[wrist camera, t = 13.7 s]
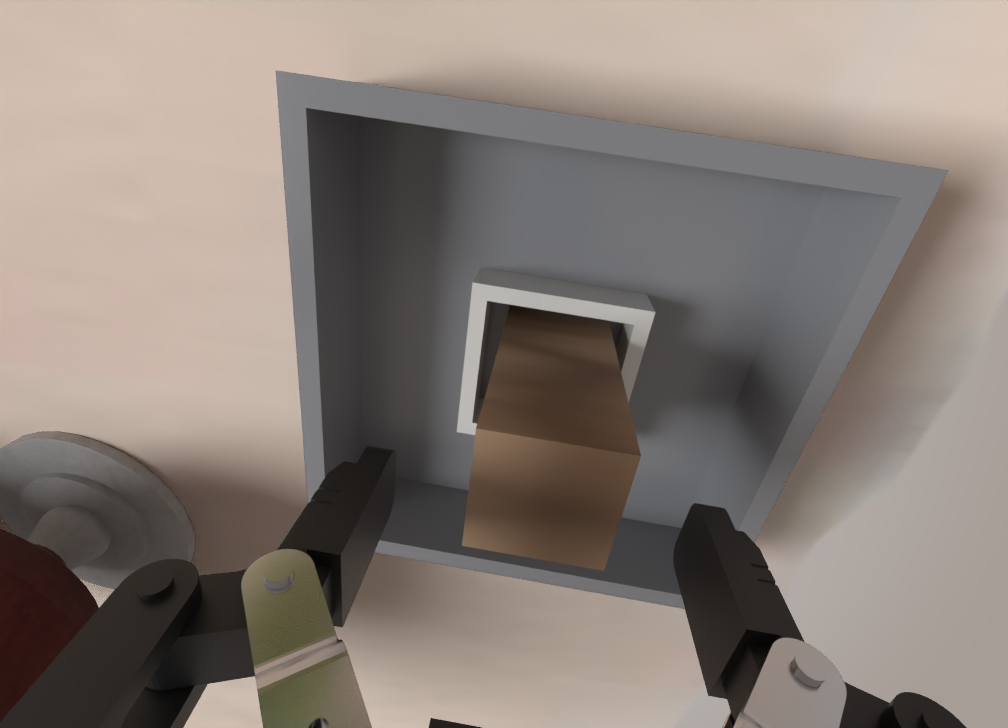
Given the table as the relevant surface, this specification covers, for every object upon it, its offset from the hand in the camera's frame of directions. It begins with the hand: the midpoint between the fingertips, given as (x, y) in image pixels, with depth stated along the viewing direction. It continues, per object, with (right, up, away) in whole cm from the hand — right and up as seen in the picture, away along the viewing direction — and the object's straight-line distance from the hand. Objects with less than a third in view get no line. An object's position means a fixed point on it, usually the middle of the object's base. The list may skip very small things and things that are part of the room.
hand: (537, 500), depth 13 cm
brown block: (+1, +4, +7) cm, 9 cm away
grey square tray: (+1, +4, +8) cm, 10 cm away
